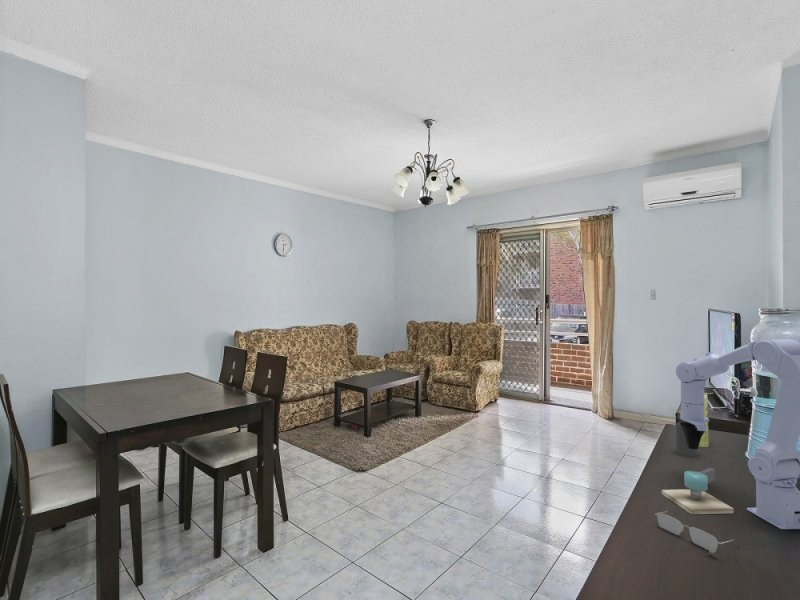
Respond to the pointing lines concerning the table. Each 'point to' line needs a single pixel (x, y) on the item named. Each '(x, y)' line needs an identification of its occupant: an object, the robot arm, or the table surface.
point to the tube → (704, 439)
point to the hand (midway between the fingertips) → (692, 448)
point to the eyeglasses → (695, 533)
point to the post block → (697, 502)
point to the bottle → (683, 441)
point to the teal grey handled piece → (699, 479)
